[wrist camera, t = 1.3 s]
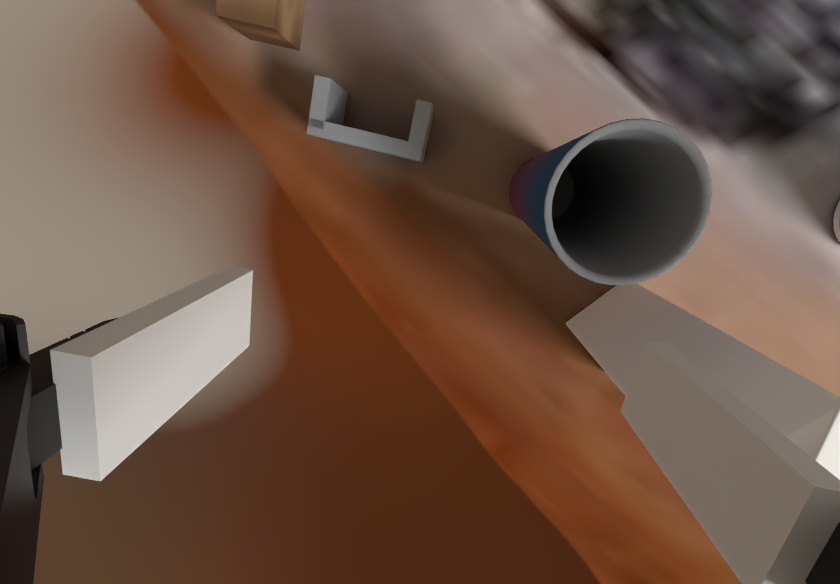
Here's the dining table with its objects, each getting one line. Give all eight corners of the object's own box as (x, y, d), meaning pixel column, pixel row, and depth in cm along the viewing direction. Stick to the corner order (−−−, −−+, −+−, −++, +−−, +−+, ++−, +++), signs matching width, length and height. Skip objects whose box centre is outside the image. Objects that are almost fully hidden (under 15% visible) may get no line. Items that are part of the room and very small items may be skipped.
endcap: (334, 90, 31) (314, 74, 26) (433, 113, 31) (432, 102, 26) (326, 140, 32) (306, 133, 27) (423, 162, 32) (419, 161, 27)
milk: (625, 276, 33) (950, 450, 12) (668, 331, 35) (1035, 579, 13) (562, 323, 35) (758, 554, 13) (605, 375, 36) (849, 665, 15)
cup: (486, 161, 32) (525, 152, 17) (577, 130, 31) (699, 92, 16) (510, 247, 33) (564, 304, 19) (597, 220, 32) (723, 258, 18)
